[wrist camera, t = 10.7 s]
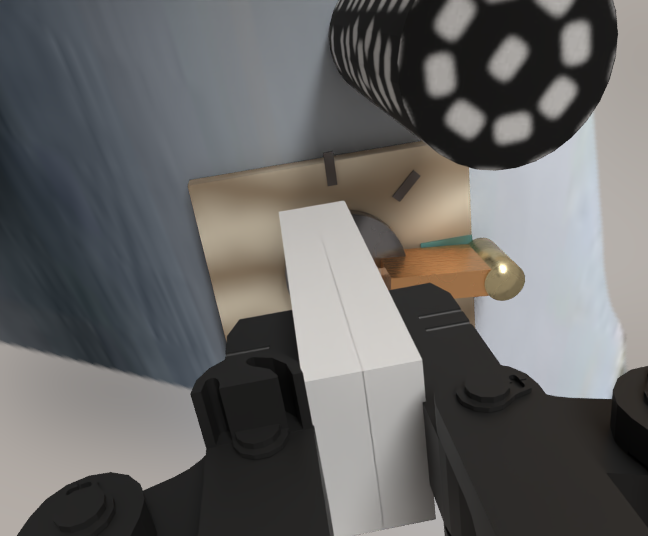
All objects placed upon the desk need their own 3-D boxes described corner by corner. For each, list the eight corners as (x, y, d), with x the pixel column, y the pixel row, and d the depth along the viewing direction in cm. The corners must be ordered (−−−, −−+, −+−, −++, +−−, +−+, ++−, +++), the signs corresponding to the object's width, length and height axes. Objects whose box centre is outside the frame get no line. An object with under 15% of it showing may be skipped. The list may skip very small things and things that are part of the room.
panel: (187, 170, 42) (184, 176, 40) (460, 124, 43) (467, 128, 41) (236, 371, 49) (236, 383, 47) (469, 328, 50) (475, 338, 48)
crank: (288, 324, 46) (293, 359, 41) (280, 214, 42) (283, 239, 37) (492, 304, 47) (518, 336, 42) (501, 197, 43) (531, 219, 39)
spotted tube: (402, 121, 42) (518, 208, 24) (305, 55, 39) (352, 95, 21) (474, 16, 40) (662, 23, 22) (375, -62, 37) (496, -129, 19)
